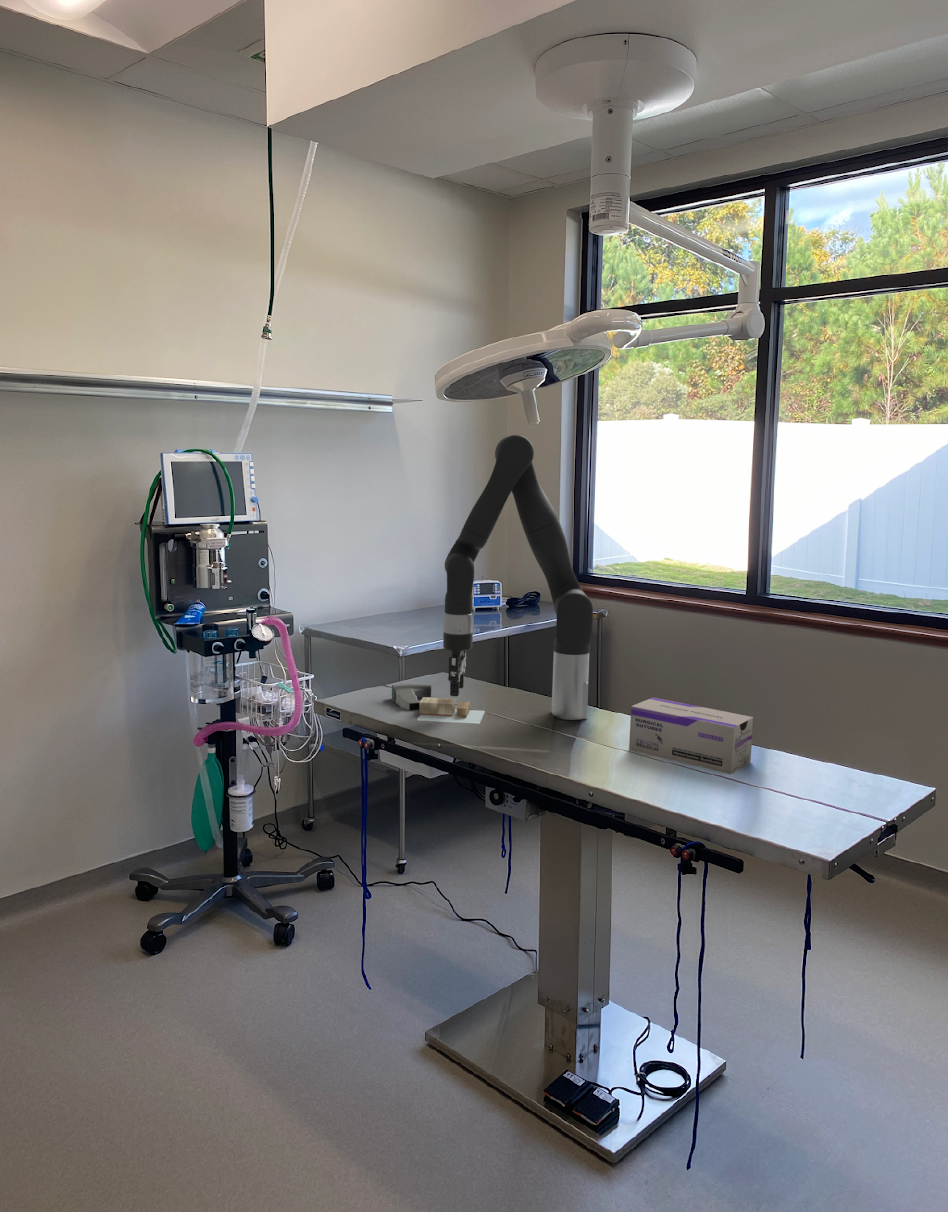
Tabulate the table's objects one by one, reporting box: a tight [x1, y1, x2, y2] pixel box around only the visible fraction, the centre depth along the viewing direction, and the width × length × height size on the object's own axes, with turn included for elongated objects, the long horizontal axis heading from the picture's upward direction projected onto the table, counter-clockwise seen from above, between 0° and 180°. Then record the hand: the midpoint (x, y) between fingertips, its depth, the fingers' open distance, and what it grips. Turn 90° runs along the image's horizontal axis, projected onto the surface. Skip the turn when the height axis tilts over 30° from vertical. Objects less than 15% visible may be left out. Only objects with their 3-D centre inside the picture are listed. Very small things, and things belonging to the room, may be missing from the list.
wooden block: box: [418, 697, 456, 716], centre depth 241 cm, size 3×6×8 cm
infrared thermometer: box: [391, 683, 432, 711], centre depth 252 cm, size 5×12×15 cm
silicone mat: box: [416, 708, 486, 725], centre depth 239 cm, size 16×12×1 cm
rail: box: [456, 700, 471, 718], centre depth 241 cm, size 2×7×2 cm, turn 173°
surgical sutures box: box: [628, 697, 755, 775], centre depth 212 cm, size 25×11×11 cm, turn 51°
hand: (456, 691), depth 240 cm, fingers open, 8 cm apart
